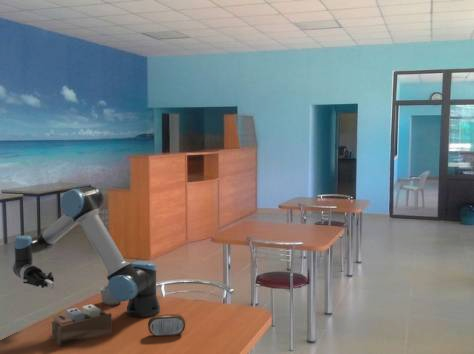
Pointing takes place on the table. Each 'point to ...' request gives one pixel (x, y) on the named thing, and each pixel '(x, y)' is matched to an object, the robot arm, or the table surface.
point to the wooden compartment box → (82, 329)
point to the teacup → (108, 296)
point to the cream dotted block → (91, 310)
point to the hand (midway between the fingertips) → (52, 286)
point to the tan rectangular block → (62, 320)
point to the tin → (166, 325)
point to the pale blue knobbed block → (75, 314)
